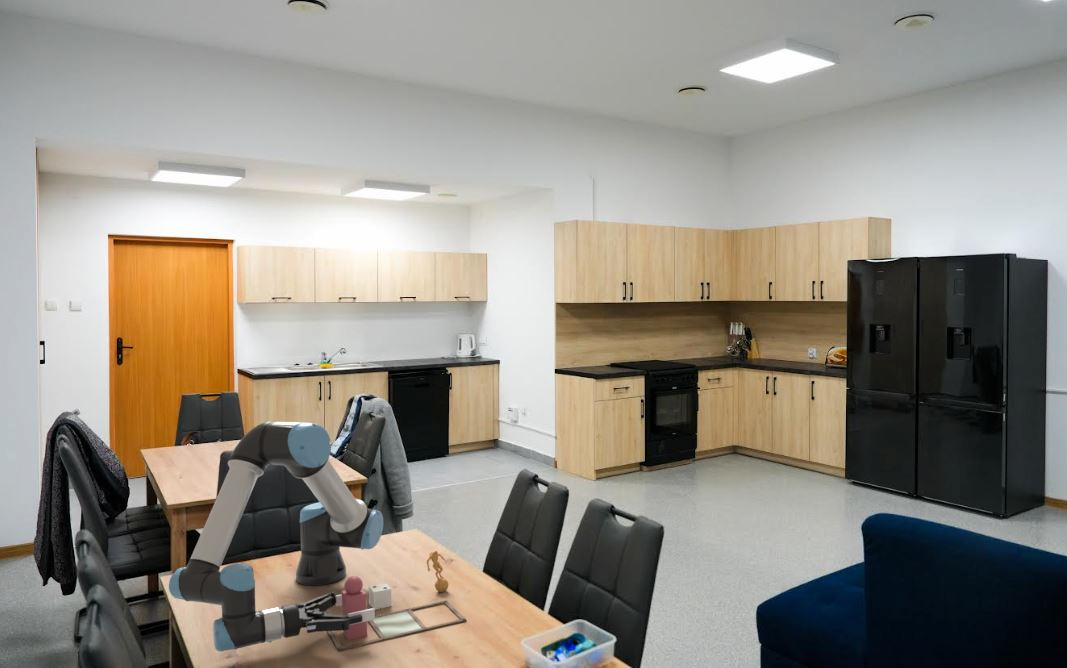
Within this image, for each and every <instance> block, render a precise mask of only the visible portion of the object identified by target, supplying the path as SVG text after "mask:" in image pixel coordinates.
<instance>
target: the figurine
mask: <svg viewBox="0 0 1067 668" xmlns="http://www.w3.org/2000/svg"><path fill="white" fill-rule="evenodd" d="M439 557H440V558H441V560H443V561H444V562H445V564H447V561H446V558H444V557H443V556H442V555H441V554H440V553H438V550H435V551H431V552H430V553H429V557H428V558H427V560H426V564H427V572H428V573H430V572H431V568H430V562H429V561H432V563H433V564H432V568H433V569H434V571H435V576H436V578H437V580H436V581H435V584H434V588H435V590H436V591H437V592H438V593H445V592H446V591H447V590H448V588H449V582H448V580H447V579H446V578H444V576H443V575H441V573H442V572H443V569H444V568H443V567H442V565H441V564H440V561H439ZM438 575H439V576H438Z"/></svg>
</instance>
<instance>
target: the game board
mask: <svg viewBox="0 0 1067 668" xmlns="http://www.w3.org/2000/svg"><path fill="white" fill-rule="evenodd" d="M439 605H445V606H446V607H447V608H448V609H449V610H450V611H451V612H452V613H453V614H454V615H456V617H457V618H458V619H456V620H452V621H448V622H443V623H439V624H435V625H431V626H425V624H424V623H423V622H422V621H421V619H419V618H418V616H416V614H415V613H414V612H413V611H417V610H421V609H426V608H431V607H435V606H439ZM465 622H467V618H465V617H464V616H463V615H462V614H461V613H460V612H459V611H458V610H457V609H456V608H455V607H454V606H453V605H452V604H451V603H449V601H448V600H442V601H436V602H432V603H428V604H424V605H419V606H415V607H410V608H404V609H401V610H395V611H391V612H386V613H382V614H377V615H375V620H371V621H367V623H369V625H370V627H372V629H373V630H374V631H375V633H376V634H377V636H378V638H374V639H370V640H365V641H362V642H358V643H352V644H349V645H344V646H342V645H341V643H340V642H339V640H338V639H337V637H336V635H335V633H334V631H326V632H327V634H328V635H329V637H330V640H331V641H332V642H334V643H333V644H334V646H335V648H336V649H338V650H337V651H338V652H340V651H345V650H346V651H347V650H350V649H354V648H358V647H361V646H366V645H371V644H375V643H379V642H383V641H387V640H392V639H393V640H394V639H397V638H401V637H405V636H409V635H413V634H418V633H424V632H427V631H430V630H434V629H440V628H443V627H447V626H452V625H457V624H459V623H460V624H462V623H465Z"/></svg>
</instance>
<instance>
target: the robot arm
mask: <svg viewBox="0 0 1067 668" xmlns="http://www.w3.org/2000/svg"><path fill="white" fill-rule="evenodd" d="M330 442H331V438H330V434H329V433H328V431H327V430H326V428H324V426H322V425H320V424H319V423H313V422H309V421H302V422H300V421H276V420H271V421H265V422H261V423H260V424H257V425H256V426H254V427H253V428H252V429H250V430H249V431H248V432H247V433H246V434H244V436H243V437H242V438H241V439H240V440H239V442H238V443H237V444H236V446H235V447H234V449H233V450H232V453H231V454H230V456H229V459H228V461H227V466H228V467H229V469H228V472H227V473H226V476H225V477H224V480H223V483H222V485H221V487H220V490H219V493H218V494H217V497H216V499H215V501H214V504H213V506H212V507H211V510H210V512H209V515H208V517H207V519H206V522H205V525H204V527H203V529H202V531H201V533H200V536H199V538H198V540H197V543H196V545H195V547H194V549H193V551H192V554H191V557H190V558H189V561H188V563H187V565H186V566H185V567H179V568H177V569H176V570H175V572H174V573H172V574H171V576H170V578H169V583H168V591H169V593H170V595H171V596H172V597H173V598H174V599H177V600H178V599H179V600H184V601H185V602H194V603H195V602H196V603H204V604H205V603H206V604H209V605H211V604H212V605H218V606H221V617H220V618H217V619H215V620H213V623H212V625H213V628H212V629H213V642H214V644H213V645H214V648H215V650H216V651H217V652H226V651H227V652H228V651H233V650H235V651H236V650H238V649H241V648H242V649H243V648H246V647H249V646H255V645H258V644H264V643H272V642H273V641H276V640H281V639H282V638H283V637H284V638H285V639H288V638H293V637H296V636H299V635H300V633H301V629H304V628H306V633H307V634H310V633H316V632H327V631H332V632H340V631H342V632H343V631H344V630H349V625H352V624H357V623H362V622H366V621H367V622H368V621H371V620H375V616H376V613H375V609H374V608H372V607H371V608H366V610H362V611H357V612H353V613H348V616H347V615H343V614H332V613H331V614H330V613H329V614H328V613H324V612H326V611H327V610H329V609H331V608H332V607H334V606H336V607H340V606H341V607H342V593H340V594H336V592H335V591H332V592H329V593H328V592H327V593H326V594H322V595H320V596H318V597H316V598H313V599H310V600H308V601H305V602H301V603H298V604H296V603H292V604H291V603H290V604H288V605H282V606H281V607H279V606H276V607H271V608H267V609H261V610H258V611H256V579H255V572H254V567H253V566H252V565H251V564H249V563H233V564H229V565H227V566H225V567H223V568H222V569H221V566H222V564H223V561H224V559H225V556H226V554H227V552H228V549H229V547H230V545H231V543H232V540H233V537H234V535H235V533H236V530H237V528H238V527H239V523H240V521H241V518H242V517H243V514H244V512H245V509H246V506H247V504H248V502H249V499H250V496H251V495H252V492H253V489H254V487H255V485H256V482H257V480H258V478H259V477H261V476H263V475H264V473H265V471H266V469H267V467H268V466H271V465H273V466H284V467H285V468H286V470H287V471H288V472H289V473H290V474H291V475H292V476H293V477H295V478H296V479H299V480H300V479H301V480H303V482H304V483H305V484H306V486H307V487H308V489H309V490H310V491H311V492H312V494H313V495H314V496H315V498H316V499H317V500H318V502H313V503H311V504H308V505H306V506H304V507H302V509H301V510H300V511H299V512H300V513H299V516H300V517H299V531H300V558H299V560H298V564H297V568H296V571H295V580H296V582H297V583H299V585H300V584H301V585H303V586H322V585H328V584H334V583H335V582H339V581H340V580H342V579H345V577H346V576H345V575H347V566H346V563H345V561H344V558H343V555H342V553H341V550H340V548H352V549H359V550H361V551H362V550H363V551H364V550H371V549H373V548H375V547H376V546H377V545H378V543H379V542H380V539H381V536H382V535H383V534H382V533H383V530H384V529H383V528H384V516H383V514H382V512H381V511H379V510H376V509H370V508H369V507H368V506H367V504H366V503H365V502H364V500H361V499H359V498H356V497H355V496H354V495H353V493H352V492H351V491H350V489H349V488H348V486H347V485H346V483H345V482H344V480H343V479H342V478H341V476H340V475H339V473H338V471H337V470H336V468H334V466H333V465H332V463H331V461H330V455H331V451H332V443H330ZM220 569H221V570H220Z"/></svg>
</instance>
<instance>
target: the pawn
mask: <svg viewBox="0 0 1067 668" xmlns="http://www.w3.org/2000/svg"><path fill="white" fill-rule="evenodd" d="M363 586H364V584H363V580H362V579H361V578H360V577H359V576H357V575H352V576H349V577H348V578H347V579H346V580H345V582H344V586H343V587H344V590H341V594H342V606H341V608H342V614H341V615H347V616H348V613H353V612H357V611H362V610H367V593H366V592H365V590H364V589H363ZM342 633H343V635H344V636H345V638H346V640H348V641H350V640H354V639H358V638H364V637H366V636H368V621H366V622H362V623H357V624H352V625H349V630H344V631H342Z"/></svg>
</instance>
